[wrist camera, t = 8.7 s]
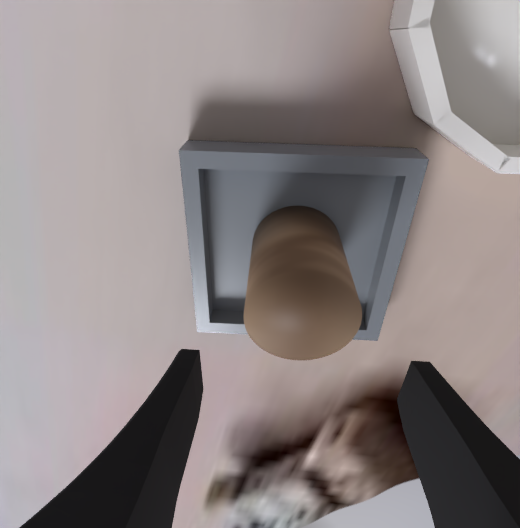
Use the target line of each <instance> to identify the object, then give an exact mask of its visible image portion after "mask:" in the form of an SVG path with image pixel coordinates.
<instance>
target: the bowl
mask: <svg viewBox="0 0 520 528" xmlns="http://www.w3.org/2000/svg"><path fill="white" fill-rule="evenodd" d="M389 29H390V30H389V32H390V35H391V39H392V42H393V45H394V49H395V52H396V55H397V59H398V62H399V66H400V69H401V72H402V76H403V79H404V83H405V86H406V89H407V93H408V96H409V99H410V103H411V106H412V110H413V113H414V114H415V115H416V116H417V117H419V118H420V119H421V120H423V121H424V122H425V123H426V124H428V125H429V126H430V127H432V128H433V129H434V130H436V131H437V132H438V133H440V134H441V135H442V136H444V137H445V138H446V139H448V140H449V141H450V142H452V143H453V144H454V145H456V146H457V147H458V148H459V149H461V150H462V151H463V152H465V153H466V154H467V155H469V156H470V157H472V158H473V159H475V160H477V161H478V162H480V163H481V164H483V165H485V166H486V167H488V168H489V169H491V170H493V171H494V172H496V173H502V174H520V0H394V5H393V10H392V15H391V21H390V26H389Z"/></svg>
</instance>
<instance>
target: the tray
mask: <svg viewBox="0 0 520 528" xmlns="http://www.w3.org/2000/svg"><path fill="white" fill-rule="evenodd" d="M179 156H180V166H181V176H182V186H183V196H184V205H185V215H186V225H187V235H188V245H189V255H190V265H191V275H192V284H193V294H194V304H195V314H196V324H197V332H209V333H230V334H248V333H247V331H246V328H245V325H244V307H245V299H246V291H247V283H248V275H249V267H250V259H251V251H252V242H253V237H254V233H255V231H256V229H257V227H258V225H259V224H260V223H261V221H262V220H263V219H264V218H265V217H267V216H268V215H269V214H271V213H272V212H274V211H276V210H278V209H281V208H284V207H288V206H307V207H311V208H314V209H317V210H319V211H321V212H322V213H324V214H325V215H327V216H328V217H329V218H330V219H331V220H332V221H333V223H334V224H335V226H336V228H337V230H338V233H339V236H340V239H341V242H342V246H343V249H344V252H345V255H346V259H347V262H348V265H349V268H350V272H351V275H352V278H353V281H354V285H355V288H356V291H357V294H358V298H359V301H360V304H361V308H362V321H361V325H360V328H359V330H358V332H357V333H356V335H355V336H354V338H353V340H374V341H378V337H379V334H380V330H381V327H382V323H383V320H384V316H385V313H386V309H387V306H388V302H389V298H390V295H391V291H392V288H393V284H394V281H395V277H396V274H397V270H398V267H399V263H400V260H401V256H402V253H403V249H404V246H405V242H406V239H407V235H408V232H409V228H410V224H411V221H412V217H413V214H414V210H415V207H416V203H417V200H418V196H419V193H420V189H421V186H422V182H423V179H424V175H425V172H426V168H427V165H428V161H429V159H428V158H427V157H426V156H425V155H423V154H422V153H421V152H420V151H418V150H417V149H416V148H396V147H367V146H338V145H309V144H280V143H251V142H222V141H193V140H188V141H187V142H186V143H185V144H184V145H183V146H182V147H181V148H180V150H179Z"/></svg>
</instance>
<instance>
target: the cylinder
mask: <svg viewBox="0 0 520 528" xmlns="http://www.w3.org/2000/svg"><path fill="white" fill-rule="evenodd" d="M361 321H362V308H361V304H360V301H359V298H358V294H357V291H356V288H355V285H354V281H353V278H352V275H351V272H350V268H349V265H348V262H347V259H346V255H345V252H344V249H343V246H342V242H341V239H340V236H339V233H338V230H337V228H336V226H335V224H334V223H333V221H332V220H331V219H330V218H329V217H328V216H327V215H325V214H324V213H322V212H321V211H319V210H317V209H314V208H311V207H307V206H288V207H284V208H281V209H278V210H276V211H274V212H272V213H271V214H269V215H268V216H267V217H265V218H264V219H263V220H262V221H261V223H260V224H259V225H258V227H257V229H256V231H255V233H254V237H253V242H252V251H251V259H250V267H249V275H248V283H247V291H246V299H245V307H244V325H245V328H246V331H247V333H248V334H249V336H250V338H251V339H252V340H253V341H254V342H255V343H256V344H257V345H258V346H259V347H260V348H262V349H263V350H265V351H266V352H268V353H270V354H272V355H275V356H278V357H281V358H285V359H291V360H312V359H318V358H322V357H325V356H328V355H331V354H333V353H335V352H337V351H338V350H340V349H342V348H343V347H344V346H346V345H347V344H348V343H349V342H350V341H351V340H352V339H353V338H354V336H355V335H356V333H357V332H358V330H359V328H360V325H361Z"/></svg>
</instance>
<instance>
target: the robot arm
mask: <svg viewBox="0 0 520 528" xmlns="http://www.w3.org/2000/svg"><path fill="white" fill-rule="evenodd" d="M202 394H203V381H202V371H201V362H200V352H199V350H188V349H181V350H180V351H179V352H178V354H177V355H176V357H175V359H174V360H173V362H172V363H171V365H170V367H169V368H168V370H167V371H166V373H165V374H164V376H163V377H162V378H161V380H160V381H159V383H158V384H157V386H156V387H155V388H154V390H153V391H152V392H151V394H150V395H149V396H148V398H147V399H146V401H145V402H144V403H143V404H142V406H141V407H140V408H139V410H138V411H137V412H136V413H135V414H134V416H133V417H132V418H131V419H130V421H129V422H128V423H127V424H126V425H125V427H124V428H123V429H122V430H121V431H120V432H119V434H118V435H117V436H116V437H115V438H114V439H113V440H112V441H111V443H110V444H109V445H108V446H107V447H106V448H105V449H104V450H103V451H102V452H101V453H100V454H99V455H98V456H97V457H96V458H95V459H94V460H93V461H92V462H91V463H90V464H89V465H88V466H87V467H86V468H85V469H84V470H83V471H82V472H81V473H80V474H79V475H78V476H77V477H76V478H75V479H74V480H73V481H72V482H71V483H70V484H69V485H68V486H67V487H66V488H65V489H64V490H62V491H61V492H60V493H59V494H58V495H57V496H56V497H54V498H53V499H52V500H51V501H50V502H49V503H48V504H47V505H45V506H44V507H43V508H42V509H41V510H40V511H39V512H37V513H36V514H35V515H34V516H33V517H32V518H31V519H29V520H28V521H27V522H26V523H25V524H23V525H22V526H21V527H20V528H172V523H173V517H174V512H175V507H176V501H177V497H178V493H179V489H180V484H181V481H182V477H183V474H184V470H185V466H186V463H187V459H188V455H189V452H190V448H191V444H192V441H193V437H194V433H195V430H196V426H197V422H198V418H199V412H200V406H201V400H202ZM397 401H398V406H399V412H400V417H401V421H402V425H403V430H404V433H405V436H406V439H407V442H408V445H409V448H410V451H411V454H412V457H413V460H414V463H415V466H416V469H417V472H418V475H419V478H420V480H421V483H422V486H423V489H424V492H425V495H426V498H427V500H428V504H429V508H430V511H431V514H432V518H433V522H434V526H435V528H520V459H519V458H518V457H517V456H516V455H515V454H514V453H513V452H512V451H511V450H510V449H509V448H508V447H507V446H506V445H505V444H504V443H503V442H502V441H501V440H500V439H499V438H498V437H497V436H496V435H495V434H494V433H493V432H492V431H491V430H490V429H489V428H488V427H487V426H486V425H485V424H484V423H483V422H482V421H481V419H480V418H479V417H478V416H477V415H476V414H475V413H474V412H473V411H472V410H471V409H470V407H469V406H468V405H467V404H466V403H465V402H464V401H463V400H462V398H461V397H460V396H459V395H458V394H457V393H456V392H455V390H454V389H453V388H452V387H451V386H450V385H449V384H448V382H447V381H446V380H445V379H444V378H443V377H442V375H441V374H440V373H439V372H438V371H437V370H436V369H435V367H434V366H433V365H432V364H431V363H430V362H422V361H411V363H410V366H409V369H408V371H407V374H406V377H405V380H404V382H403V385H402V388H401V390H400V393H399V396H398V398H397Z"/></svg>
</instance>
